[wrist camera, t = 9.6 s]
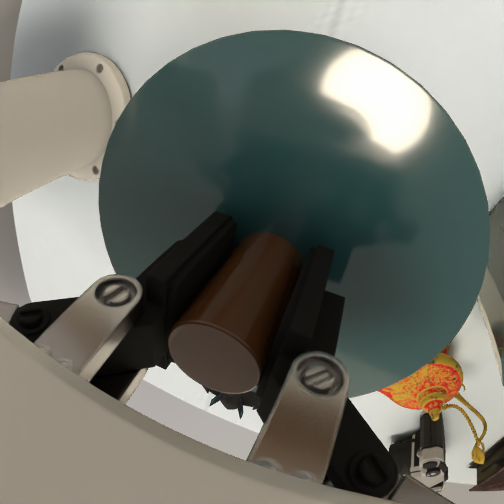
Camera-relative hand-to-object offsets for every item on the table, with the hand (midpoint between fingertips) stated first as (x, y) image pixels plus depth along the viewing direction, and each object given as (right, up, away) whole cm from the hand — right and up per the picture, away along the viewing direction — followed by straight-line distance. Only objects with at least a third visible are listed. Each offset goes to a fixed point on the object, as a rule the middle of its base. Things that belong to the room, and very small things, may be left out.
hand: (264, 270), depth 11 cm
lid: (0, 0, +1) cm, 1 cm away
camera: (+21, -23, +22) cm, 38 cm away
